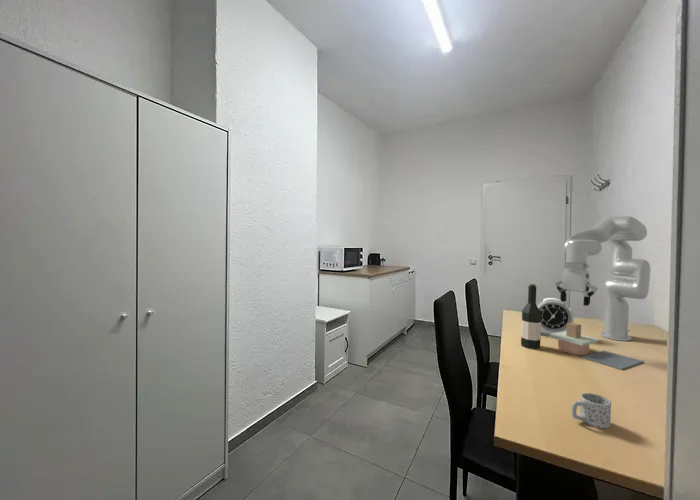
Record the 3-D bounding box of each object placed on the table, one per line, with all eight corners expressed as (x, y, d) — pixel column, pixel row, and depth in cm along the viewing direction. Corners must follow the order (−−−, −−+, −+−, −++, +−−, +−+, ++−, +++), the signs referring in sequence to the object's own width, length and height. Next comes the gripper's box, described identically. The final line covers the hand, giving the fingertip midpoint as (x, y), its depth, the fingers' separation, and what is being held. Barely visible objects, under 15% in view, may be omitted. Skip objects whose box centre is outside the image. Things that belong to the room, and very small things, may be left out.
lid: (566, 332, 153) (566, 318, 153) (599, 341, 141) (599, 326, 141) (548, 336, 147) (549, 321, 147) (581, 345, 135) (582, 329, 134)
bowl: (566, 344, 152) (567, 333, 152) (594, 352, 142) (594, 340, 141) (552, 348, 147) (553, 336, 147) (579, 356, 136) (580, 344, 136)
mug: (596, 415, 91) (597, 392, 90) (616, 429, 84) (617, 405, 84) (563, 415, 90) (564, 392, 90) (580, 429, 84) (581, 405, 83)
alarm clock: (532, 335, 167) (534, 298, 166) (531, 331, 174) (533, 295, 174) (573, 340, 159) (574, 301, 158) (570, 336, 166) (572, 298, 165)
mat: (604, 351, 143) (604, 350, 143) (643, 362, 131) (643, 361, 131) (582, 357, 135) (582, 356, 135) (621, 370, 123) (621, 368, 123)
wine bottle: (544, 349, 145) (546, 285, 144) (526, 349, 145) (528, 285, 144) (534, 343, 153) (536, 283, 152) (517, 343, 153) (519, 283, 152)
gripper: (602, 267, 137) (600, 306, 137) (561, 264, 152) (559, 299, 153) (592, 268, 133) (591, 307, 134) (551, 265, 149) (550, 300, 149)
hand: (574, 303), depth 143 cm, fingers open, 9 cm apart
